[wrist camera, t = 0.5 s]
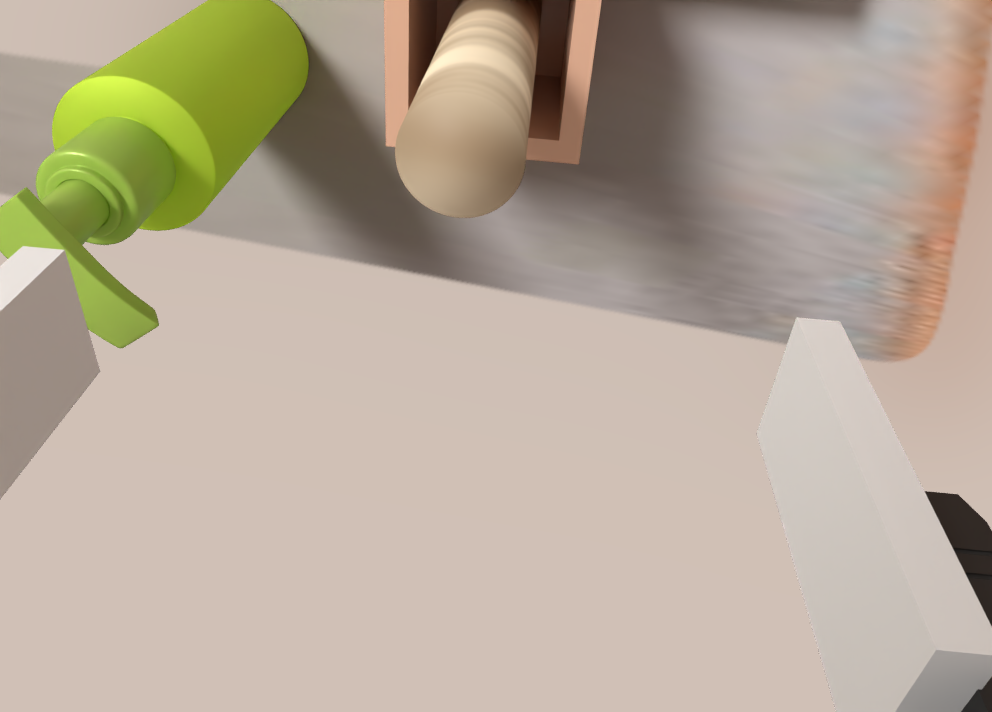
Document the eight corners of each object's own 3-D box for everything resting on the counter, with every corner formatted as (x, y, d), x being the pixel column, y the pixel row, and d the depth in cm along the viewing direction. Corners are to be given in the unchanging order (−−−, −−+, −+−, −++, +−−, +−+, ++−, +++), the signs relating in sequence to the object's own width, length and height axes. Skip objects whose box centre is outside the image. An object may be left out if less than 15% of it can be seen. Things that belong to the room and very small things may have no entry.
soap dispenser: (261, 150, 42) (73, 383, 26) (165, 34, 39) (-116, 219, 23) (346, 92, 40) (198, 307, 24) (252, -36, 37) (9, 114, 21)
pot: (421, -104, 35) (383, -71, 28) (600, -88, 35) (608, -51, 27) (419, 77, 39) (385, 146, 32) (576, 92, 39) (578, 164, 32)
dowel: (465, -43, 35) (394, 86, 21) (546, -36, 35) (531, 99, 21) (461, 41, 38) (395, 211, 23) (538, 48, 37) (519, 223, 23)
